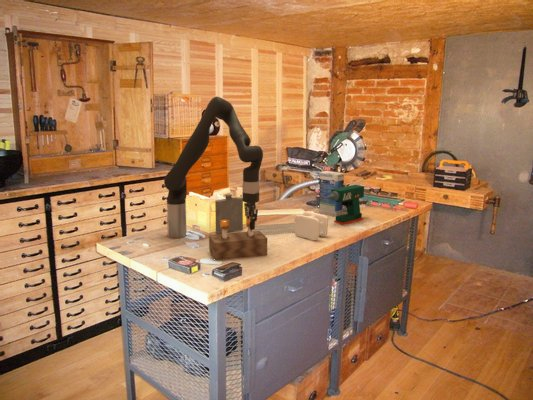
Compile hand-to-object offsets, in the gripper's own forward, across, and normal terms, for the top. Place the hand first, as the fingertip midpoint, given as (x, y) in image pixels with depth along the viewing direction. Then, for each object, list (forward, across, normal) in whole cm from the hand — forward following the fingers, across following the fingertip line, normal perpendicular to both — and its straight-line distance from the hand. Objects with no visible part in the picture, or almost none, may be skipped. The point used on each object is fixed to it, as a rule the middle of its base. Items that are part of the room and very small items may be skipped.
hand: (250, 227), depth 199 cm
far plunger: (+11, 0, 0) cm, 11 cm away
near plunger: (+11, 0, -12) cm, 16 cm away
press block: (+12, 0, -6) cm, 13 cm away
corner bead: (+13, -26, +21) cm, 36 cm away
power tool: (+12, -32, +63) cm, 72 cm away
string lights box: (+12, -52, +66) cm, 85 cm away
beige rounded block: (+12, -14, +36) cm, 40 cm away
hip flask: (+12, -34, -2) cm, 36 cm away
